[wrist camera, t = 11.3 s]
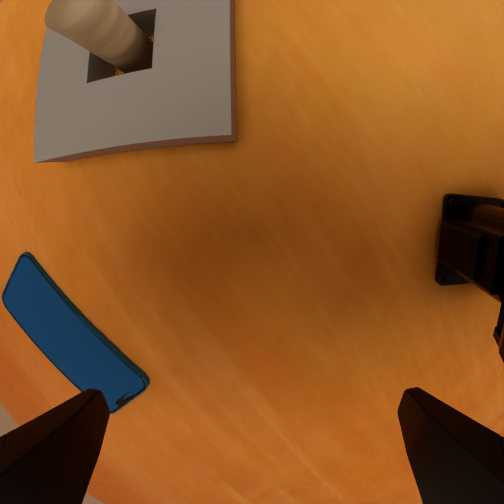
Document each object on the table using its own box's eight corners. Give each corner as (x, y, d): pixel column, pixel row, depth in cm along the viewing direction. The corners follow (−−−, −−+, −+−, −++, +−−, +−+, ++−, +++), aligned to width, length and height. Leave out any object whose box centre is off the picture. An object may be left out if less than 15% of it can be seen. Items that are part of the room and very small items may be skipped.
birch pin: (162, 41, 15) (101, -29, 7) (161, 75, 16) (91, 17, 7) (126, 48, 15) (51, -8, 7) (123, 82, 16) (40, 38, 7)
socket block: (234, -19, 14) (230, -48, 10) (236, 141, 17) (231, 134, 14) (77, 15, 14) (53, -1, 11) (65, 161, 17) (34, 162, 14)
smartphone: (23, 247, 19) (152, 385, 21) (31, 244, 20) (155, 378, 22) (-1, 300, 20) (109, 416, 23) (5, 296, 21) (113, 410, 24)
